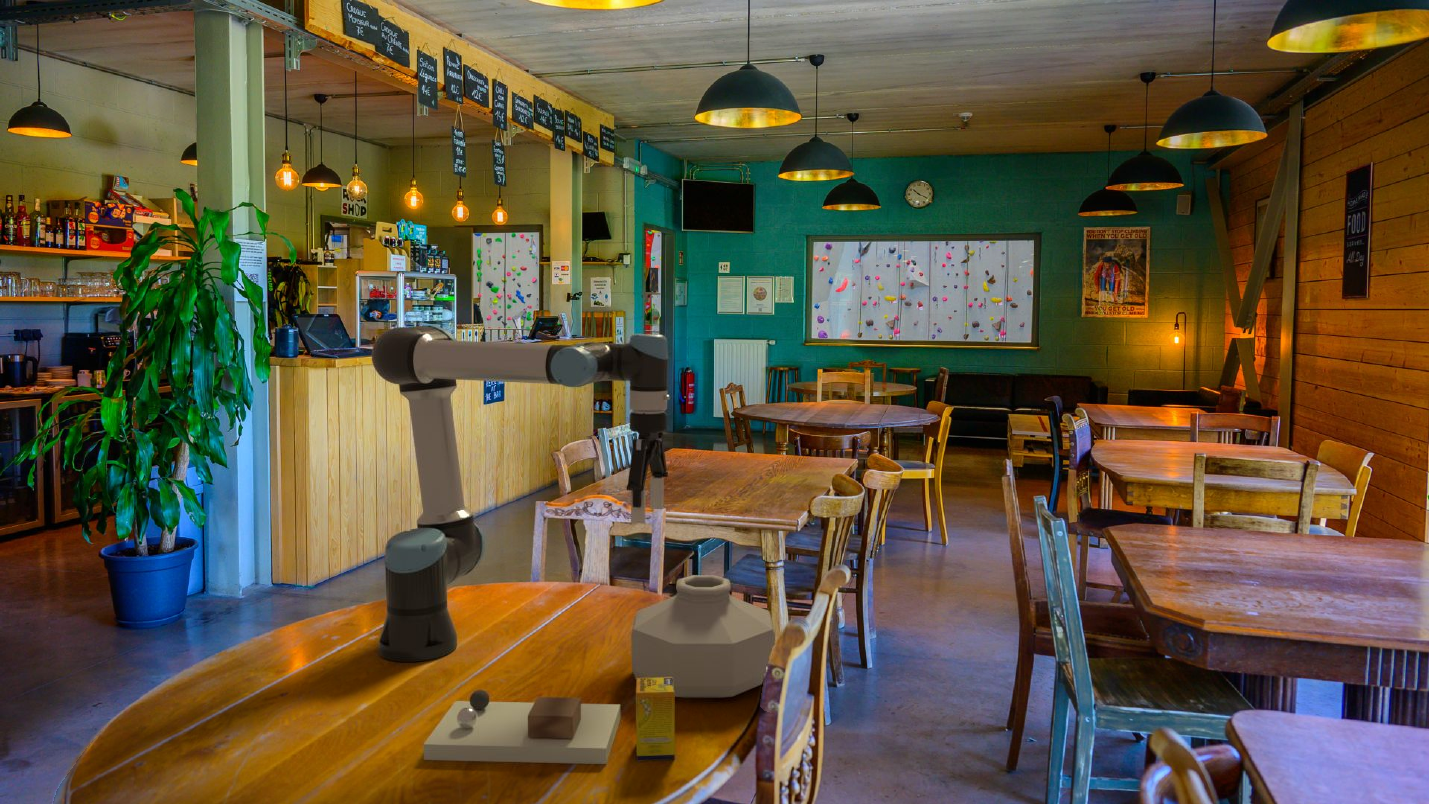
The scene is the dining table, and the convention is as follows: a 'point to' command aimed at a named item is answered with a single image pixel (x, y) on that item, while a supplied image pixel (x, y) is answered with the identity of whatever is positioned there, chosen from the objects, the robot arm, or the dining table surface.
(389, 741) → the dining table surface
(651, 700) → the supplement box
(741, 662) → the pot
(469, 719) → the ball
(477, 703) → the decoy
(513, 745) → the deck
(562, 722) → the cover
